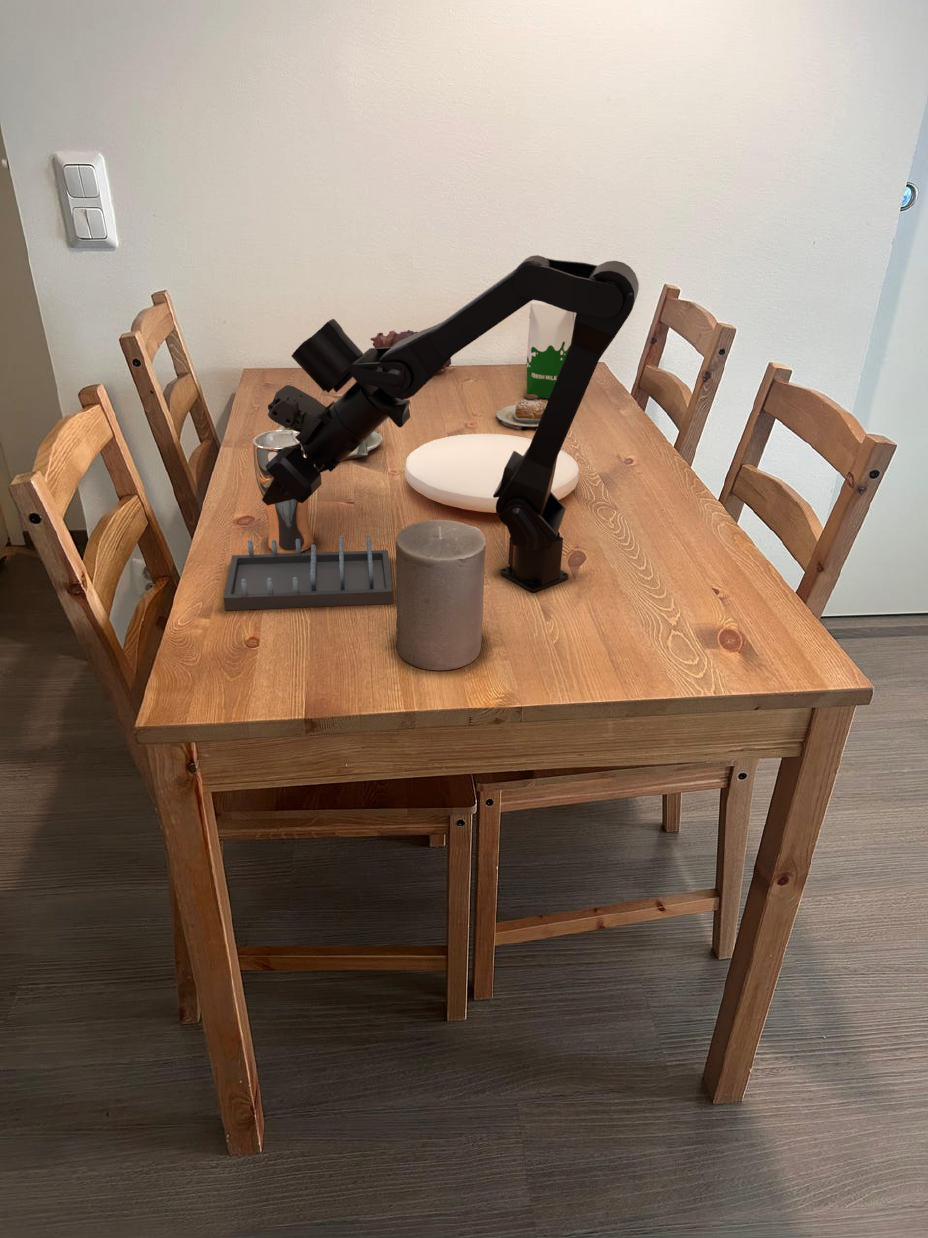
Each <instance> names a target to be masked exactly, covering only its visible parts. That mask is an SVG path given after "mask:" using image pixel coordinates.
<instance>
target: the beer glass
mask: <svg viewBox="0 0 928 1238" xmlns="http://www.w3.org/2000/svg"><path fill="white" fill-rule="evenodd" d="M299 433H300V432H297V431H293V430H277V429H273V430H269V431H265V432H262V433H259V434H257V435H256V436H255V437H254V438H253V439H252V445H253V446H252V447H253V462H254V464H253V465H254V474H255V479H256V484H257V488H258V491H259V495H260V498H261V499H262V498H263V496H264V495H265V493H266V491H267V490H268V488H269V486H270V484H271V483H272V481H273V479H274V477H273V476H272V475H271V474H270V473H269V472H268V471H267V469H266V465H267V464H268V463H269V462H270V461H271V460H272V459H273V458H274V457H275V456H276V455H277V454H278V453H279V452H280V451H281V450H283V449H284V448H285V447H292V448H296V449H297V450H298V451H299V452H300V453H301V454H302V455H303V456H304V457H305V458H306V457H307V456H308V453H307V454H305V453H304V452H303V451H302V450H301V448H302V447H303V446H304V444H303V445H302V444H301V443H300V442H299V441H298V440H297V439H296V438H295V437H296V436H297V435H298V434H299ZM309 503H310V497H309V498H308V499H307V500H305V501H304V502H303V503H299V502H297V501H296V500H295V499H293V500H289V501H284V502H280V503H276V504H272V505H266V504H265V503H264V502H263V501H262V504H263V507H264V510H265V514H266V517H267V523H268V536H267V546H268V548H269V549H270V550H271V551H272V552H273V550H272V540H274V539H275V540H276V542H277V553H278V554H287V553H296V539H300V544H301V553H303V552H305V551H307V550H309V549H311V545H313V544H314V536H313V533H312V530H311V526H310V521H309Z"/></svg>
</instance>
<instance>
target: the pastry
mask: <svg viewBox="0 0 928 1238" xmlns="http://www.w3.org/2000/svg"><path fill="white" fill-rule="evenodd" d="M538 398H539V397H538V396H537V395H533V394H529V395H527V394H525V395H523V398H522V399H520V401H519V402H518V403H517V404H513V405H508V406H505V407H502V408H500V409H498V410H497V411H496V417H497V418H498V420H500V421H501V425H503V426H504V427H507V428H511V429H515V430H519V431H520V430H522V429H523V428H537V427H538V424H539V422H540V419H541V417H542V415H543V412H544V410H545V407H546V406H545V405H544V403H543V402H542V400H540V399H538Z"/></svg>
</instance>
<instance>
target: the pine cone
mask: <svg viewBox="0 0 928 1238" xmlns="http://www.w3.org/2000/svg"><path fill="white" fill-rule="evenodd" d="M418 332H419V331H413V330H410V329H408V330H406V331H405V330H404V331H400V332H399V333H398V332H396V331H395V330H390V331H389V332H388V334H387V335H384V333H383V332H378V333H377V334H376V336H374V337H370V341H372V342H373V343H372V346H373V348H382V347H393V346H394V345H395V344H396V343H397V342H399V341H401V340H403V339H405V338H407V337H409V336H411V335H413V334H415V333H418ZM451 365H452V357H451V358H450V359H449V360H448V361H447V362H446V363H445V364H444V365H443V366H442V367H441V368H440V369H439V370H438V371H437V372H436V373H439V372H441V371H442V370H445V369H447V368H450V366H451Z"/></svg>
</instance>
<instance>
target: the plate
mask: <svg viewBox="0 0 928 1238" xmlns="http://www.w3.org/2000/svg"><path fill="white" fill-rule="evenodd" d="M532 439H533V438H528V437H524V436H518V435H512V434H501V433H468V434H458V435H450V436H445V437H441V438H436V439H434V440H433V439H432V440H431V441H428V442H426V443H423V444H422V445H420V446H418V447H417V448H416V449H414V450H412V451H411V452H410V453H409V455H407V458H406V461H405V467H404V476H405V479H406V481H407V484H408V485H409V486H410V487H411V488H412V489H414V491H415V492H417V493H419V494H421V495H422V496H424V497H425V498H427V499H429V500H431V501H434V502H437V503H440V504H442V505H446V506H450V507H453V508H459V509H462V510H466V511H467V510H468V511H475V512H482V513H491V514H492V513H493V514H497V513H496V503H497V500H498V498H499V497H498V498H494V497H493V495H494V493H495V491H496V489H497V487H498V485H499V483H500V481H501V479H502V477H503V472H504V468H505V466H506V464H507V463H508V461H509V459H510V457H511V455H512V453H513V451H516V452H517V453H519V454H521V455H522V456H523V455H524V454H525V452H526V451H527V449H528V448H529V446H530V444H531V442H532ZM579 481H580V469H579V465H578V462H577V461H576V460H575V459H574V458H573V456H571V455H570V454H568V453H567V452H566V451H564V450H562V449H561V450H560V452H559V454H558V457H557V462H556V468H555V474H554V478H553V483H552V487H551V492H552V493H553V495H554V496H555V497H556V498H557V499H558V500H559V501H561V500H562V499H563V498H565V497H567V496H568V495H569V494H570V493H571V492H573V491H574V490H575V489H576V488H577V485H578V483H579Z"/></svg>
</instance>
